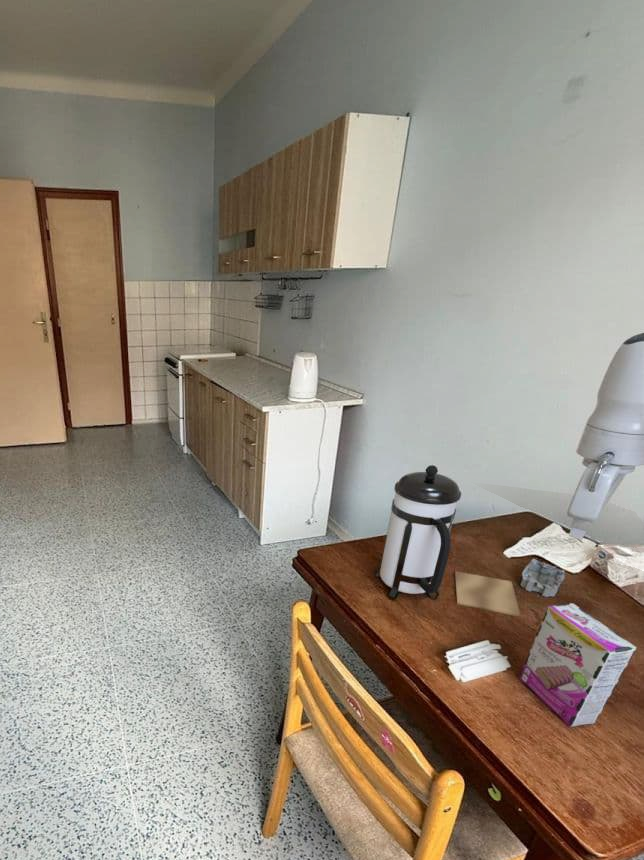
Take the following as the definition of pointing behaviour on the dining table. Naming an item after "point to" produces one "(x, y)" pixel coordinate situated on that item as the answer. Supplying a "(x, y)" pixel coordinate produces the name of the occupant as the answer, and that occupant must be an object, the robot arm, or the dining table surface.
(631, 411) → the robot arm
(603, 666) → the candy bar box
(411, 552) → the coffee press
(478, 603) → the cork pad
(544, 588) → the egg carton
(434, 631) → the dining table surface
